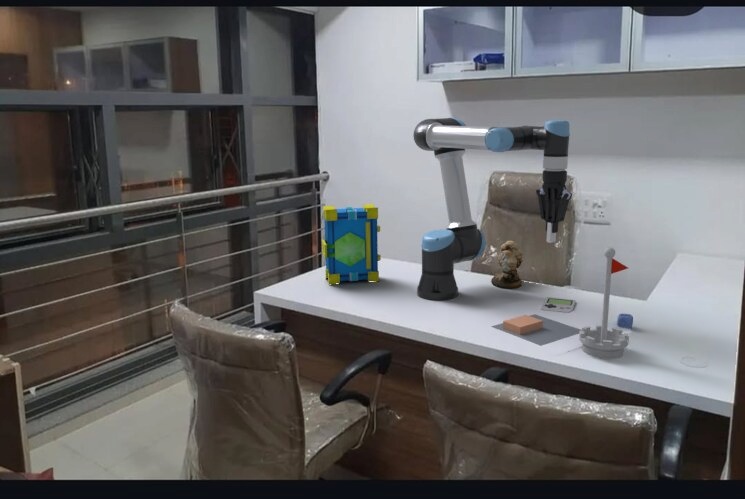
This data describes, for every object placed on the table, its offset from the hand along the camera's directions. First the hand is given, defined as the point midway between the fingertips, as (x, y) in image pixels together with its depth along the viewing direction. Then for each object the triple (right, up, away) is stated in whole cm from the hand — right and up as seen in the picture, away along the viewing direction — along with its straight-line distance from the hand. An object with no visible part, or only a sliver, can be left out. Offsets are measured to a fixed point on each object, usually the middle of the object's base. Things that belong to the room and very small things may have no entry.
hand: (551, 241), depth 205 cm
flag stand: (+7, -31, -28) cm, 43 cm away
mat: (-7, -28, -12) cm, 31 cm away
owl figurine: (-6, -16, +41) cm, 45 cm away
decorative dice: (+20, -27, -10) cm, 35 cm away
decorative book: (-66, -15, +48) cm, 83 cm away
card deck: (-8, -25, -9) cm, 28 cm away
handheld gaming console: (+6, -23, +11) cm, 26 cm away
